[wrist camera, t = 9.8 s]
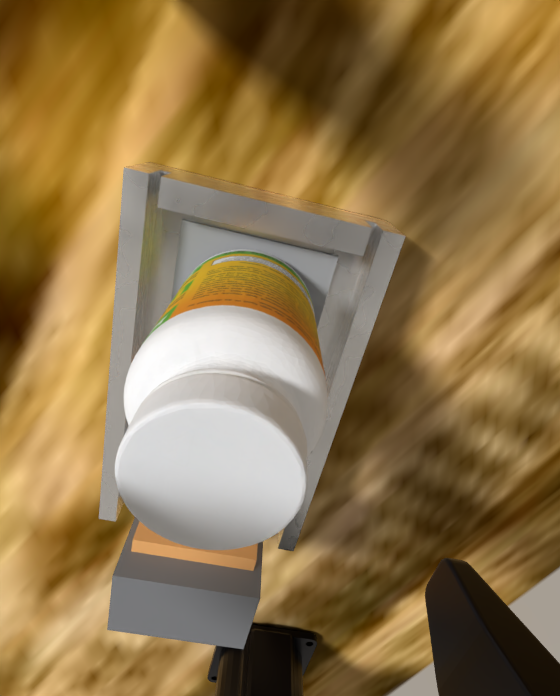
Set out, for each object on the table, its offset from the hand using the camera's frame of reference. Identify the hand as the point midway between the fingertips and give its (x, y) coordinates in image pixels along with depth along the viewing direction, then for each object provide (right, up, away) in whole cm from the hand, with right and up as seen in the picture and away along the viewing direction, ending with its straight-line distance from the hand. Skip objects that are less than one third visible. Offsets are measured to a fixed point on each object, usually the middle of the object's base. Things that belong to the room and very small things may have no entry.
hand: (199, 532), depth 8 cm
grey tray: (-1, +2, +13) cm, 13 cm away
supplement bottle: (0, +5, +10) cm, 11 cm away
